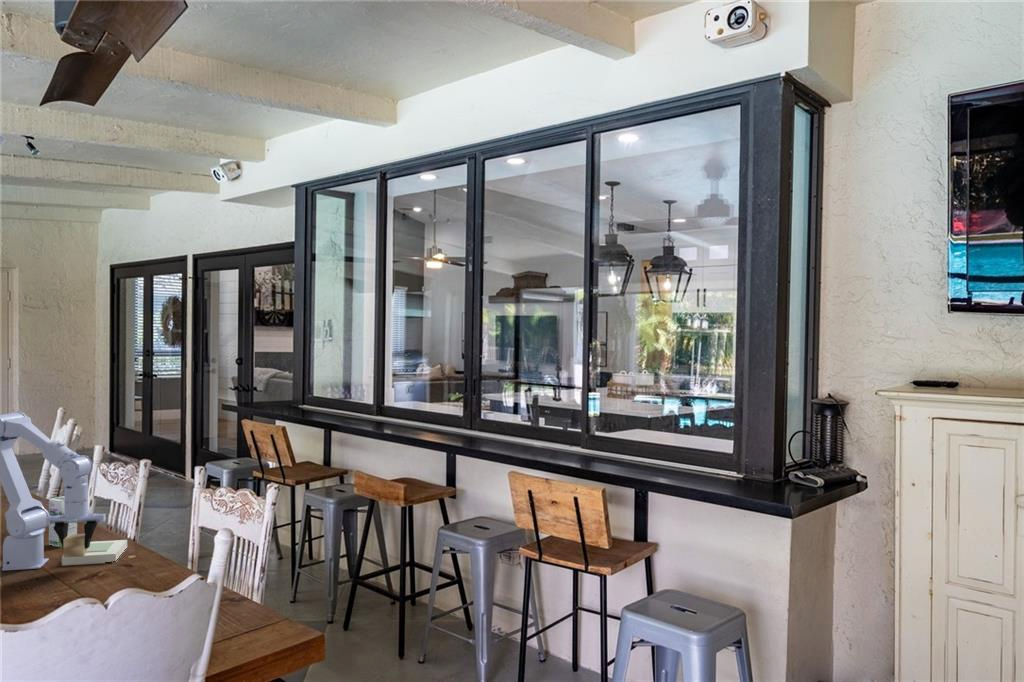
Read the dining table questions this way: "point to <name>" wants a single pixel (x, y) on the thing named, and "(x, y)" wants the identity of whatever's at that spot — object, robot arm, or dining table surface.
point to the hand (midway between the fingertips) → (76, 548)
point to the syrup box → (54, 509)
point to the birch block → (74, 545)
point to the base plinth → (98, 553)
